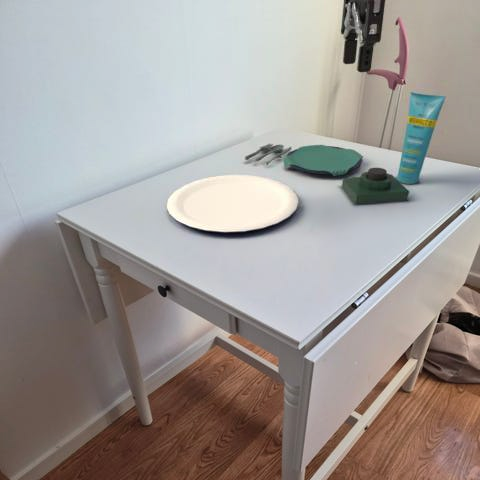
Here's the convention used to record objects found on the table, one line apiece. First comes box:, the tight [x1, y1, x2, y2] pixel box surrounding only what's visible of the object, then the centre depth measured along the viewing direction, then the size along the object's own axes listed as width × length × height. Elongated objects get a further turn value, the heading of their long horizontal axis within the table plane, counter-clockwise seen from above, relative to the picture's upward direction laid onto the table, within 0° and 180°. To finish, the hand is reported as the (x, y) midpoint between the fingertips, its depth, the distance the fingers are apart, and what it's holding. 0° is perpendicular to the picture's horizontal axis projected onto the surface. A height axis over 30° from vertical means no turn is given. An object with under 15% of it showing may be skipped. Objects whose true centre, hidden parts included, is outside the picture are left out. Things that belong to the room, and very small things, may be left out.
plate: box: [166, 174, 299, 234], centre depth 94 cm, size 29×29×2 cm
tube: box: [396, 91, 447, 185], centre depth 97 cm, size 7×5×19 cm, turn 57°
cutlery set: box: [244, 143, 364, 177], centre depth 114 cm, size 20×30×2 cm, turn 58°
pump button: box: [367, 167, 388, 181], centre depth 95 cm, size 4×4×2 cm
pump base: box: [341, 171, 410, 205], centre depth 97 cm, size 12×10×4 cm
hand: (355, 67), depth 76 cm, fingers open, 8 cm apart
